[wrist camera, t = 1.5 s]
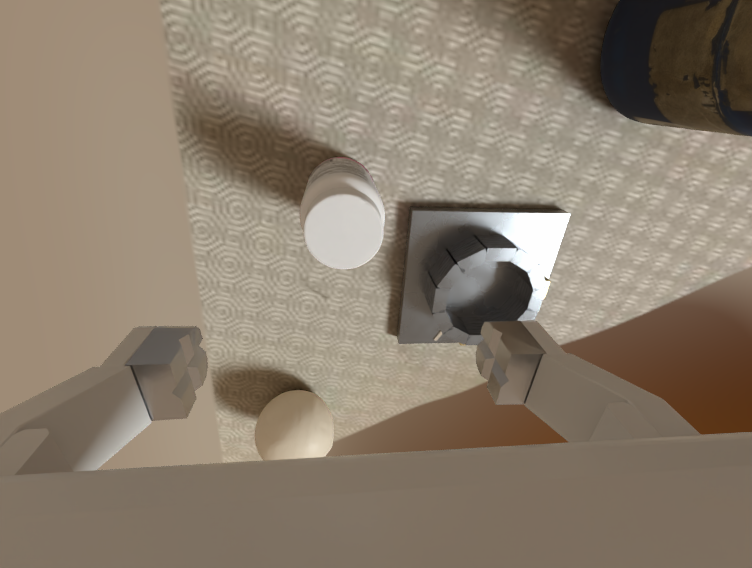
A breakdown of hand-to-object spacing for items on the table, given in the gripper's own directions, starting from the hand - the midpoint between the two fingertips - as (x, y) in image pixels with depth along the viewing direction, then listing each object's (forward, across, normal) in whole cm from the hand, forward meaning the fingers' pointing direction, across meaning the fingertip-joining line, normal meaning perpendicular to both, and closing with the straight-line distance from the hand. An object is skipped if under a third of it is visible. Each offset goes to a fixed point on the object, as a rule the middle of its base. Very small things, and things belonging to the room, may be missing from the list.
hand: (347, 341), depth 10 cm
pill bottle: (+17, 0, 0) cm, 17 cm away
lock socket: (+16, -11, +7) cm, 21 cm away
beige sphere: (+17, +4, +21) cm, 27 cm away
